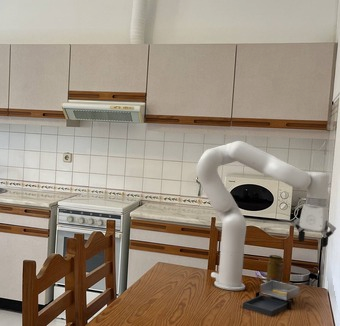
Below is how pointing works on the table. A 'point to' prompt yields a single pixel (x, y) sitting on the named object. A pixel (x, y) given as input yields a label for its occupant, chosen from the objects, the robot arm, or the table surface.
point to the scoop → (282, 287)
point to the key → (279, 292)
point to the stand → (280, 299)
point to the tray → (265, 305)
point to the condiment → (274, 268)
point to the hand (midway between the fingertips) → (312, 244)
